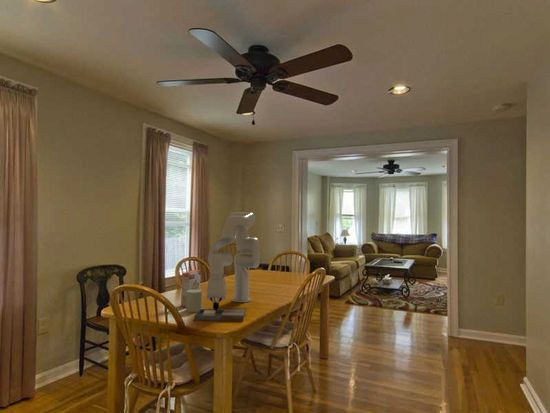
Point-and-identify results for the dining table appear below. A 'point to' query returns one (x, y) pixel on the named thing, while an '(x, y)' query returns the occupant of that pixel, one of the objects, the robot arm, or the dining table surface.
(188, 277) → the cracker box
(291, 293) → the dining table surface
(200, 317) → the box
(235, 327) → the dining table surface
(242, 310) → the brown sliding lid
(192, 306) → the can
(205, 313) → the tile
